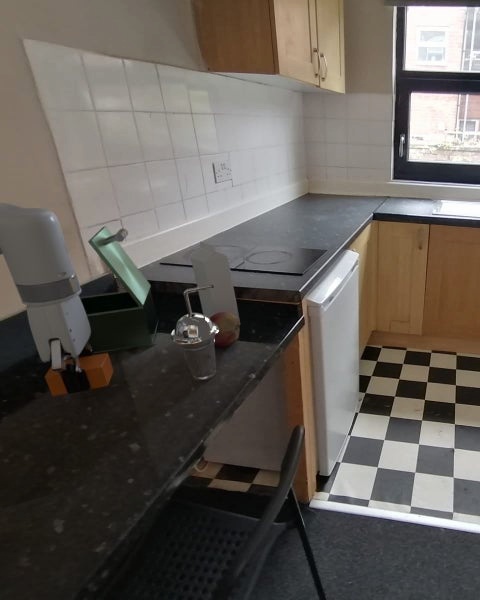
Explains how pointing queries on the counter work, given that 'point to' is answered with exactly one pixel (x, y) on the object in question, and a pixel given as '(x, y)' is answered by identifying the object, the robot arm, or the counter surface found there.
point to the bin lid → (120, 263)
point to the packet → (94, 367)
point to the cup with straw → (197, 340)
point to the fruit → (226, 329)
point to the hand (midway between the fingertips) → (83, 380)
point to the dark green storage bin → (120, 322)
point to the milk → (214, 281)
